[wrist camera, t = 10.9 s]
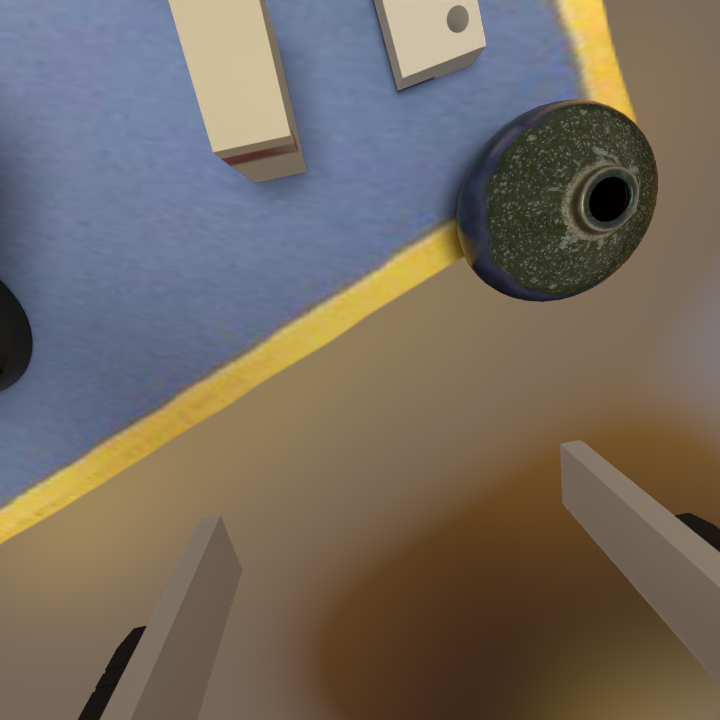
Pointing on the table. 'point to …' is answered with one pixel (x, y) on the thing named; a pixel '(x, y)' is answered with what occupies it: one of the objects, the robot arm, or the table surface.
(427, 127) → the table surface
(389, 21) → the bracket
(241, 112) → the tan cardboard carton
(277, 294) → the table surface
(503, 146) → the vase
